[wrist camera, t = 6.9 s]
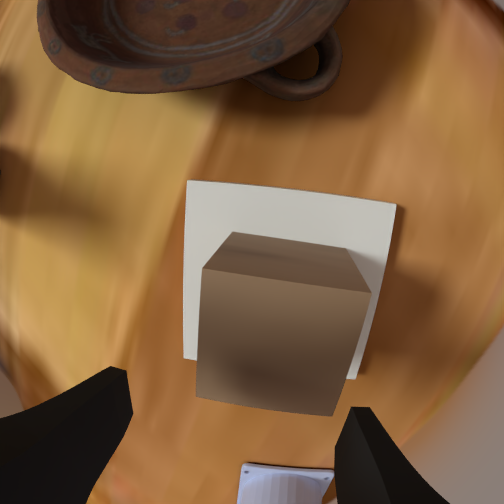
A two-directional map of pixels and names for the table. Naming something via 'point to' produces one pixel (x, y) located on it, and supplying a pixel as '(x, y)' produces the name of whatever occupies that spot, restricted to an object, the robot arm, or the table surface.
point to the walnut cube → (278, 324)
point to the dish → (191, 43)
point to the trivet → (282, 236)
